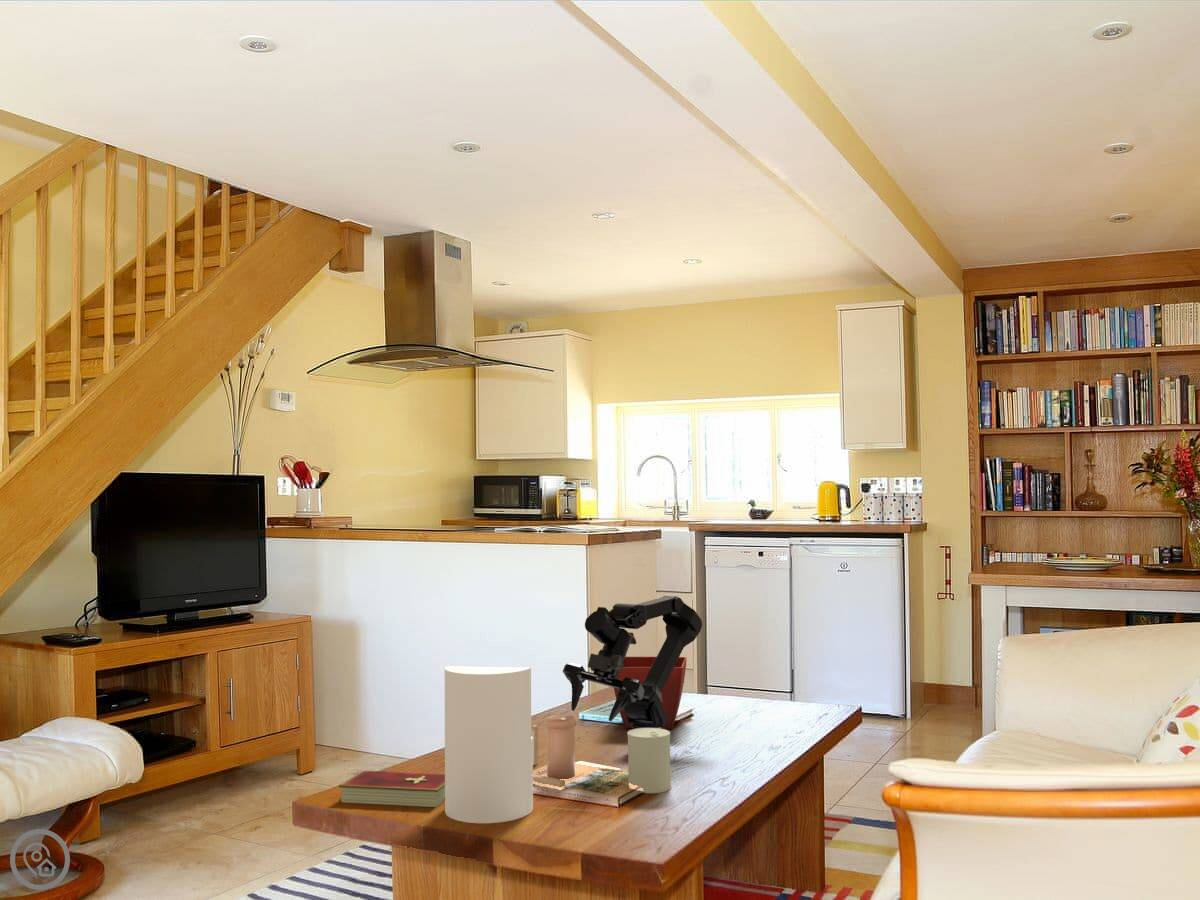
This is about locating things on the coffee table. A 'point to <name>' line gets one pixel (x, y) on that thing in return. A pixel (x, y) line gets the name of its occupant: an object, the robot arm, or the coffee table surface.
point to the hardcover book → (394, 788)
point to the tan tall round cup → (561, 746)
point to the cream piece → (547, 779)
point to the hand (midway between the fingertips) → (591, 715)
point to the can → (649, 759)
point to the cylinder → (488, 744)
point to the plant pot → (670, 692)
